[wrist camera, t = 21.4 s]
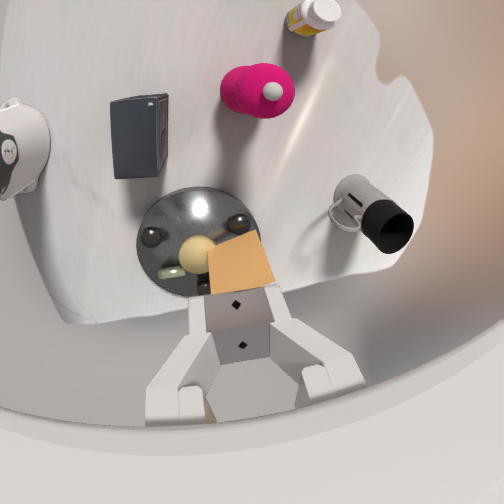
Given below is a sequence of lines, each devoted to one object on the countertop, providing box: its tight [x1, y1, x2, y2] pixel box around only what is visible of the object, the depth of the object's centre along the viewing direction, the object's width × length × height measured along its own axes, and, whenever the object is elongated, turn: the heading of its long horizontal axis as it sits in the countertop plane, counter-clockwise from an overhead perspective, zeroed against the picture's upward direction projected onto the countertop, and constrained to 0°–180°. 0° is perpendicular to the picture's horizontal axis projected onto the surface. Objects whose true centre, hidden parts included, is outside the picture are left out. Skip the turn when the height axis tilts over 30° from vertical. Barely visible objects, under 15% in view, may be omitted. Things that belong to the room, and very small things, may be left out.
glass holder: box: [328, 174, 414, 254], centre depth 44 cm, size 9×14×15 cm, turn 87°
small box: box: [110, 93, 169, 179], centre depth 33 cm, size 11×6×10 cm, turn 176°
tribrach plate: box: [136, 187, 261, 297], centre depth 49 cm, size 23×23×4 cm
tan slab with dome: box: [179, 229, 275, 294], centre depth 43 cm, size 14×7×14 cm, turn 110°
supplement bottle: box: [285, 0, 341, 37], centre depth 27 cm, size 6×6×10 cm
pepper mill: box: [220, 63, 295, 118], centre depth 28 cm, size 7×7×20 cm
